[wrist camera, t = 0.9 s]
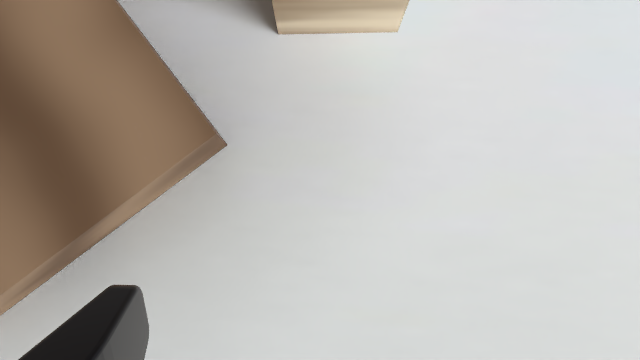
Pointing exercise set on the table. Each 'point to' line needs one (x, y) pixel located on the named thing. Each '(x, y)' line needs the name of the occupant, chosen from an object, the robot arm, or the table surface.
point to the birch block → (338, 16)
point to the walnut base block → (83, 133)
